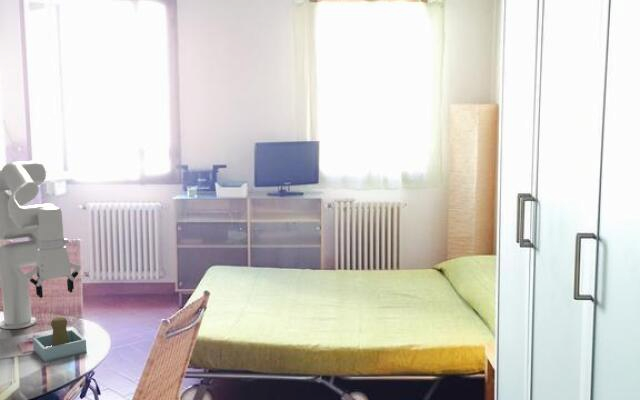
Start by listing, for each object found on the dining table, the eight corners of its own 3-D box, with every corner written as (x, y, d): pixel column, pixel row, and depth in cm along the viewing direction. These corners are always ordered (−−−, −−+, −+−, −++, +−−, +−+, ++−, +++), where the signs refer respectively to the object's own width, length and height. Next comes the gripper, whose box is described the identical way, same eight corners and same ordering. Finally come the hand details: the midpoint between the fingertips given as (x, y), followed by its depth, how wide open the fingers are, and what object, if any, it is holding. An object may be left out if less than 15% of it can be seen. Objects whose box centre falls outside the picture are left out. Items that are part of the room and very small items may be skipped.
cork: (64, 352, 224) (62, 321, 222) (47, 352, 225) (45, 320, 223) (74, 346, 230) (71, 315, 228) (58, 345, 231) (55, 314, 229)
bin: (33, 350, 228) (32, 337, 227) (74, 341, 236) (73, 329, 236) (44, 362, 217) (43, 349, 217) (86, 352, 225) (85, 339, 225)
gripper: (74, 239, 230) (78, 287, 232) (21, 246, 219) (25, 296, 222) (81, 242, 224) (85, 292, 226) (27, 250, 213) (31, 301, 216)
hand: (55, 294), depth 224 cm, fingers open, 9 cm apart
